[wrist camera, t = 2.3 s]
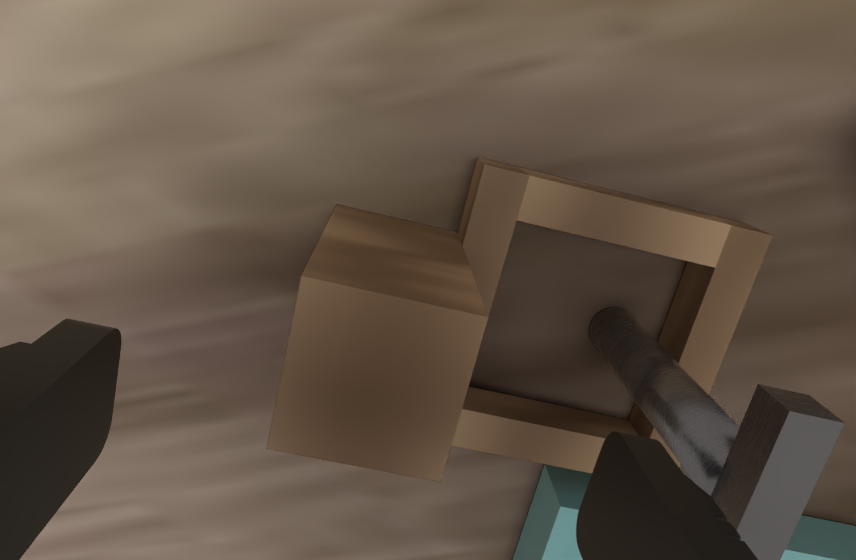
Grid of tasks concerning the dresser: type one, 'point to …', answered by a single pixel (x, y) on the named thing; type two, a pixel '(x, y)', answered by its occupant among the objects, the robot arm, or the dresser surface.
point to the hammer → (726, 435)
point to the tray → (562, 496)
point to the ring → (479, 325)
